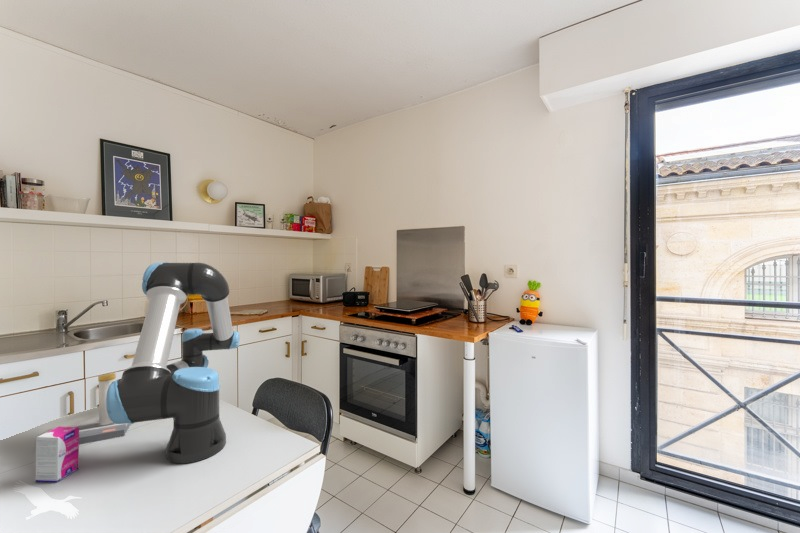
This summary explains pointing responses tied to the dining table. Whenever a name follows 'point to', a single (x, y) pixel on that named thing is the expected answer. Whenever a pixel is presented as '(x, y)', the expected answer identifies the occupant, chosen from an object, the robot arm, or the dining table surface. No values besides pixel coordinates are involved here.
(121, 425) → the switch panel
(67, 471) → the supplement box
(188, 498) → the dining table surface
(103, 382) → the switch handle
